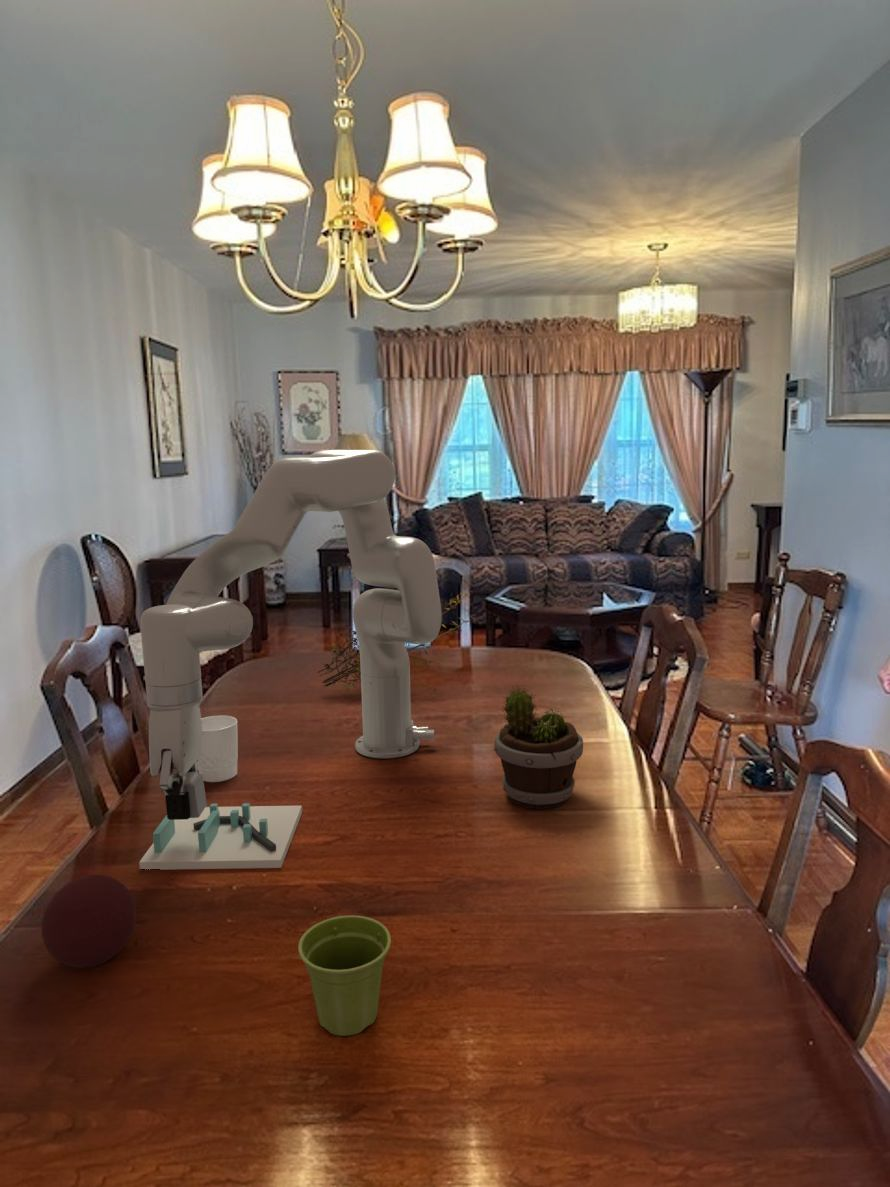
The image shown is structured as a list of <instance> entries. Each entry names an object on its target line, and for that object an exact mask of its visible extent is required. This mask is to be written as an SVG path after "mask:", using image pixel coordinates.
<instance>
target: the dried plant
mask: <svg viewBox="0 0 890 1187" xmlns="http://www.w3.org/2000/svg"><path fill="white" fill-rule="evenodd" d="M464 582H465V586H467V585H468V584H467V581H464ZM460 586H461V585H460ZM462 587H463V588H465V587H464V586H461V588H458V589H459V594H456V597H454V596H452V594H453V592H451V594H450V597H451V598H450V599H449V603H448V601H444V603H443V607H442V608H441V611H443V610H445V611H444V612H441V613H442V615H444V614H446V613H447V612H449V611H450V610H456V609H457V607H456V606H457V605H458V604H459V605H461V604H462V600H463V599H465V597H469V596H471V595H472V593H473V590H471V591H470V592H471V594H468V593H466V592H465V591H464V590H463V588H462ZM387 589H391V588H389V587H387ZM463 593H464V596H463V597H462V598H460V597H459V596H460V595H463ZM440 602H443V599H442V598H440ZM454 603H455V604H454ZM452 604H454V605H452ZM448 605H449V606H450V607H447V606H448ZM452 612H453V614H454V615H456V613H455V611H452ZM469 617H471V619H472V620H474V622H475V623H477V622H476V620H475V619H476V618H475V617H473V616H472V615H470V616H469ZM459 620H461V623H459V624H458V623H456V622H455V621H452V620H451V622H452V625H454V626H455V627H454V628H452V627H451V628H449V629H448V631H446V632H444V633H441V634H438V635H437V637H436V638H435V639H437V638H439V637H441V636H444V635H445V634H447V633H450V632H451V635H452V638H454V637H456V629H458V631H459V632H460V633H462V631H463V630H461V628H460V627H461V625H463V624H464V623H465V624H467V623H470V619H468V620H465V619H463V618H461V617H459ZM449 624H450V625H451V623H449ZM441 627H444V628H445V629H447V627H446V625H445V624H444V623H441ZM346 629H347V630H348V637H345V642H344V644H343V645H340V644H339V640H338V639H337V641H336V642H337V646H338V648H337V647H335V646H333V645H332V646H331V648H330V649H331V650H332V653H331V654H332V655H333V657H332V658H331V660H332V661H331V662H330V664H328V663H323V665H324V668H323V669H321V670H319V671H317V673H318V674H319V673H321V672H323V671H325V670H327V671H326V672H325V673H322V674H319V675H318V676H319V677H322V676H324V675H327V674H331V673H332V672H334V671H335V670H337V673H335V674H333V675H332V676H330V677H328V678H326V679H324V680H323V681H322V684H324V685H323V687H324V688H325V687H329V686H331V685H332V686H334V685H336V683H337V682H338V683H339V682H343V683H341V686H343V685H344V686H343V688H344V687H346V690H348V691H349V690H350V687H351V686H353V688H354V689H357V687H355V684H357V683H359V682H361V667H360V661H359V662H358V660H360V651H359V643H358V638H357V634H356V630H352V631H351V630H349V629H351V626H348V627H346ZM351 632H352V635H351ZM453 635H454V636H453ZM348 642H350V643H349V644H348ZM403 643H404V642H403ZM346 644H347V646H346V647H344V646H345V645H346ZM407 644H408V645H407ZM404 645H405V647H406V648H409V647H411V645H410V643H404ZM428 645H432V646H433V645H434V640H433V641H431V642H430V643H427V644H417V645H416V646H414V647H412V648H410V649H408V650H407V652H411V651H413V650H415V649H417V648H419V647H422V649H424V652H425V654H426V655H427V656H428V652H427V650H425V648H427V649H430V647H429V646H428ZM356 646H357V647H356ZM424 647H425V648H424ZM357 648H358V649H357ZM337 649H338V651H337ZM347 650H348V651H347ZM355 650H356V652H355ZM352 654H353V655H352ZM358 656H359V657H358ZM341 658H344V659H343V661H342V660H341ZM355 658H356V659H358V660H356V659H355ZM409 658H412V661H413V663H414V664H415V663H417V664H418V659H419V660H420V661H419V662H421V663H422V664H425V662H428V664H429V666H431V663H436V662H434V661H432V660H429V661H428V660H426V659H423V658H421V657H417V656H416V657H415V656H412V655H409ZM353 659H354V661H353V662H352V663H351V661H352V660H353ZM424 661H425V662H424ZM334 663H335V666H334V667H333V668H332V667H331V666H332V665H333V664H334ZM342 666H343V667H342ZM349 666H351V667H349ZM437 666H439V668H441V666H440V663H439V662H437ZM340 667H342V669H341V671H340V670H339V668H340ZM439 668H438V669H439ZM357 673H358V675H357ZM411 673H412V672H411V671H410V674H411ZM353 674H354V675H355V676H354V675H353ZM413 674H415V675H416V673H415V672H414V673H413ZM349 676H351V677H352V678H353V679H348V678H349ZM343 679H344V680H343ZM358 680H359V681H358ZM411 684H412V685H413V686H414V685H415V684H416V685H420V686H422V684H421V683H418V682H414V681H411ZM424 686H425V687H426V685H423V687H424ZM427 687H429V689H430V691H431V690H433V692H435V693H437V691H438V689H435V688H434V687H432V686H429V685H427ZM439 693H440V694H441V695H443V696H444V693H443V692H441V691H439Z"/></svg>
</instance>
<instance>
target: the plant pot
mask: <svg viewBox="0 0 890 1187" xmlns="http://www.w3.org/2000/svg"><path fill="white" fill-rule="evenodd" d="M391 938H392V936H391V933H390V932H389V930H388V928H387V927H386V926H385V925H384V924H382V923H381V922H380V921H378V920H377V919H374V918H371V917H367V916H362V915H339V916H334V917H330V918H327V919H324V920H321V921H320V922H318V923H316V924H314V925H312V926H311V927H310V928H309V929H307V930H306V931H305V932H304V933H303V934H302V936H301V937H300V938H299V939H300V940H299V942H298V947H297V948H298V954H299V957H300V959H301V961H302V962H303V963H304V966H305V968H306V971H308V975H309V979H310V984H311V989H312V994H313V998H314V1003H315V1009H316V1014H317V1018H318V1023H319V1024H320V1027H323V1028H324V1029H326V1030H327V1031H328V1032H329V1033H330V1034H331V1035H335V1036H342V1037H343V1036H346V1037H347V1036H354V1035H357V1034H359V1033H361V1032H363V1031H364V1030H365V1029H366V1028H367V1027H368V1026H370V1025H373V1023H374V1022H375V1021H376V1018H377V1017H378V1010H379V1009H378V1008H379V1002H380V1001H379V1000H380V991H381V983H382V982H381V981H382V976H383V975H382V974H383V966H384V963H385V960H386V957H387V953H388V952H389V951H390V948H391V941H392V939H391Z"/></svg>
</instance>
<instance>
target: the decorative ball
mask: <svg viewBox="0 0 890 1187" xmlns="http://www.w3.org/2000/svg"><path fill="white" fill-rule="evenodd" d="M136 919H137V909H136V905H135V900H134V898H133V896H132V893H131V892H130V890H129V889H128V887H127V886H126V885H125V884H124V883H122V882H121V881H120V880H118V879H117V878H114V877H111V876H108V875H105V874H89V875H87V874H86V875H84V876H80V877H77V878H75V879H72V880H71V881H69V882H67V883H66V884H64V885H63V886H62V887H61V888H60V889H59V890H57V891H56V892H55V894H54V895H53V897H52V898H51V899H50V900H49V901H48V903H47V905H46V907H45V910H44V913H43V916H42V920H41V936H42V941H43V944H44V947H45V948H46V949H47V952H48V953H49V955H51V956H52V957H53V958H54V959H55V960H56V961H57V962H59V963H61V964H63V965H65V966H68V967H72V968H80V969H83V968H91V967H96V966H99V965H101V964H103V963H106V962H107V961H109V960H110V959H112V958H113V957H115V956H116V955H117V954H118V953H120V951H121V950H122V949H124V947H125V946H126V944H127V943H128V942H129V939H130V937H131V935H132V933H133V931H134V928H135V924H136Z"/></svg>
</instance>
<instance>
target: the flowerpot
mask: <svg viewBox="0 0 890 1187" xmlns="http://www.w3.org/2000/svg"><path fill="white" fill-rule="evenodd" d="M515 682H516V684H517V685H516V686H513V685H511V688H512V689H509V691H508V694H509V695H508V694H506V695H503V696H502V697H503V698H502V700H503V705H502V707H501V709H502V712H503V713H504V714H503V715H504V716H503V719H505V720H504V722H505V723H506V724H505V725H504V726H503V727H502V728H501V729H500V732H498V733H497V734H496V736H495V739H494V745H493V750H494V752H495V754H496V755H497V757H498V758H500V761H501V766H502V770H503V773H504V775H503V777H502V786H503V787H502V789H503V790H504V792H505V793H506V795H507V796H508V797H509V799H510V801H511V802H513V803H514V804H517V805H518V806H520V807H522V808H525V809H529V808H530V810H532V809H537V810H544V809H546V808H550V809H554V808H557V807H560V806H562V805H565V803H567V801H568V799H569V798H570V797H571V796H572V794H573V791H574V787H575V783H576V781H575V780H576V779H575V778H574V773H575V771H576V770H575V769H576V765H577V761H578V760H579V759H580V758H581V757H582V756H583V753H584V752H583V751H584V740H583V737H582V736H581V735H580V733H578V731H577V729H576V728H575V726H574V725H573V724H572V723H570V722H568V721H565V719H566V717H565V716H563V714H562V713H561V712H560V710H557V711H556V710H554V708H551V707H550V709H549V710H547V712H545V714H543V715H542V716H541V717H537V716H536V715H538V714H537V713H536V711H537V710H538V708H537V707H539V706H540V704H538V705H537V701H535V700H534V699H535V696H536V694H533V693H532V692H530V694H528V692H529V690H527V685H526V686H525V685H524V686H522V687H520V685H519V683H518V682H517V681H515ZM534 710H536V711H534ZM550 711H551V712H550ZM558 713H559V714H558Z"/></svg>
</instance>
